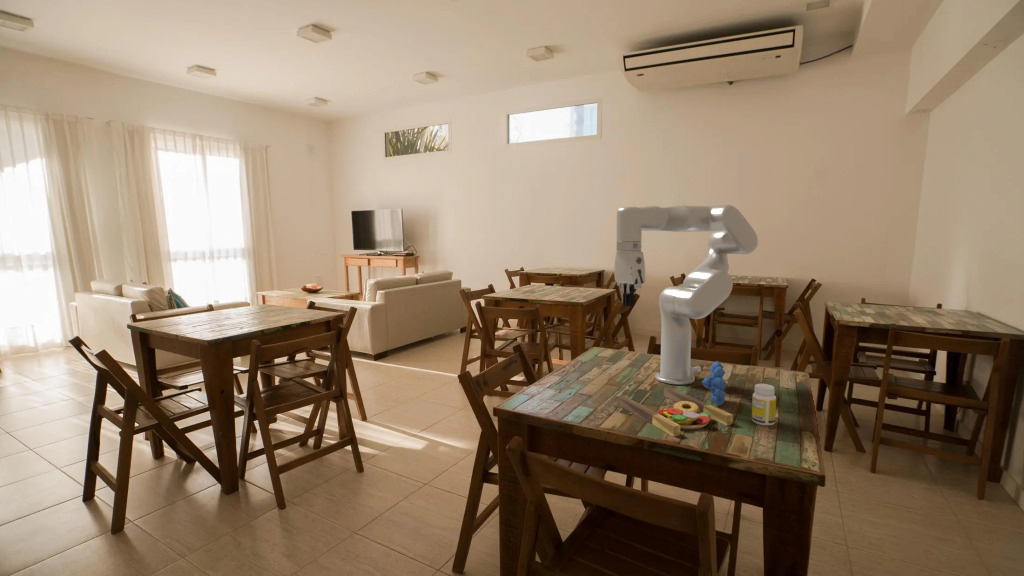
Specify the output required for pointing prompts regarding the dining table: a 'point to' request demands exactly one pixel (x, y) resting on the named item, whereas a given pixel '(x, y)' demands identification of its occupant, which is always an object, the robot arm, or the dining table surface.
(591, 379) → the dining table surface
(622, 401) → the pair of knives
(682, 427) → the toy food set
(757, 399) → the supplement bottle
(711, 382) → the grapes
